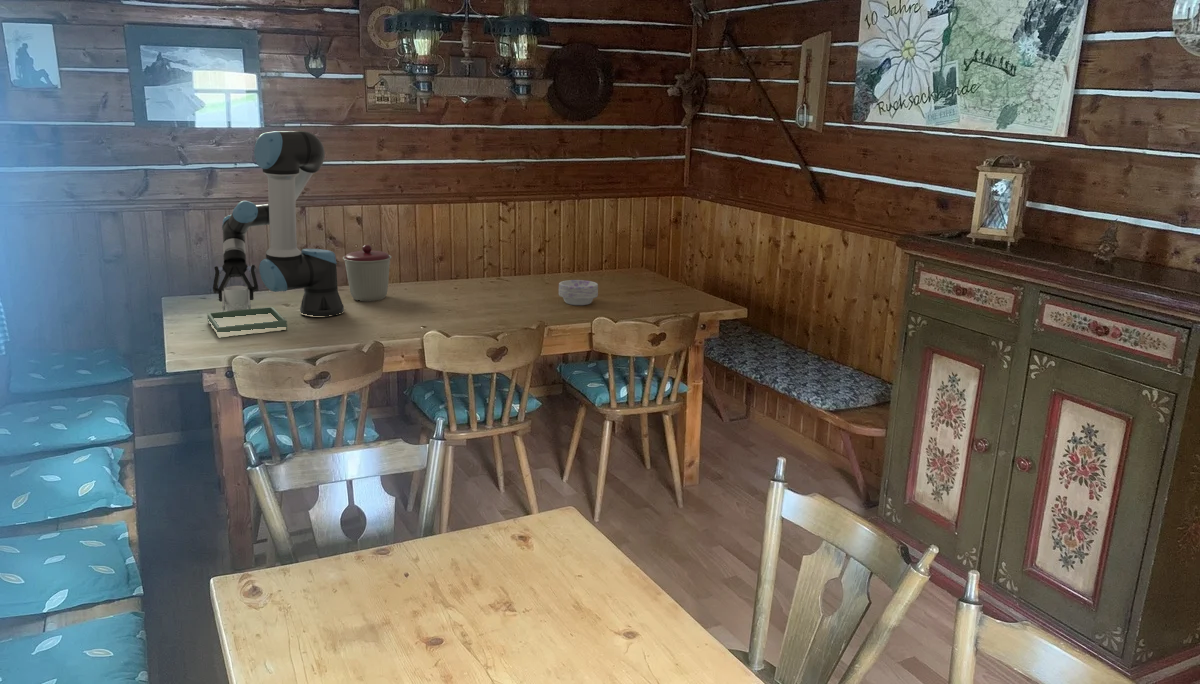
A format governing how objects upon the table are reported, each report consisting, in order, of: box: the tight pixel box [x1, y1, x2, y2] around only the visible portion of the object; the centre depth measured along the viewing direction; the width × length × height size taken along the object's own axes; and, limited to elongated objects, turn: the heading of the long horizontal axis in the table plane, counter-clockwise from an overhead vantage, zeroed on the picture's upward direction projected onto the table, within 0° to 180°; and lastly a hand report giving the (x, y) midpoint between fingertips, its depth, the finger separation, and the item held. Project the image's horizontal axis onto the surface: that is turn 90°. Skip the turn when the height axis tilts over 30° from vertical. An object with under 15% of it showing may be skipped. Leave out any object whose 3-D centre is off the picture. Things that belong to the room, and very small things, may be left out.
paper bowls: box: [558, 279, 599, 306], centre depth 355 cm, size 15×15×8 cm
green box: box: [206, 306, 288, 332], centre depth 312 cm, size 22×22×4 cm
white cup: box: [224, 285, 248, 311], centre depth 325 cm, size 8×8×10 cm
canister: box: [342, 244, 392, 302], centre depth 352 cm, size 18×18×21 cm
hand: (236, 307), depth 322 cm, fingers closed on white cup, 8 cm apart
